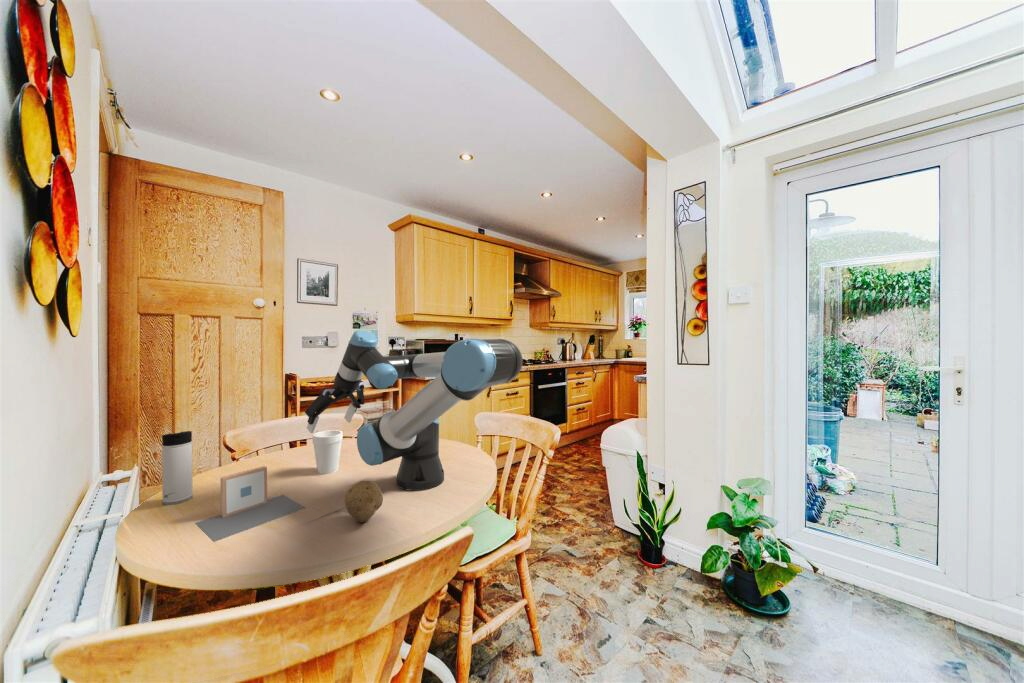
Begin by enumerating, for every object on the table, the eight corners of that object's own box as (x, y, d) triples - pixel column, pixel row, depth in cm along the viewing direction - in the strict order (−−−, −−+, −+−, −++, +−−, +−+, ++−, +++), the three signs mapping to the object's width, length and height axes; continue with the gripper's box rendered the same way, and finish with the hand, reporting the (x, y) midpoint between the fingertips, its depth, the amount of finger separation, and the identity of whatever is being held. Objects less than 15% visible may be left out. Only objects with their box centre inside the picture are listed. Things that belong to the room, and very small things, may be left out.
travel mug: (163, 509, 98) (162, 435, 98) (161, 501, 103) (160, 431, 102) (194, 501, 103) (193, 431, 102) (191, 494, 107) (190, 427, 107)
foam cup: (314, 468, 129) (313, 431, 128) (342, 464, 133) (342, 429, 132) (311, 477, 120) (311, 438, 120) (342, 473, 124) (342, 435, 124)
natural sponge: (365, 508, 99) (365, 472, 99) (390, 515, 95) (390, 477, 95) (337, 524, 91) (337, 484, 90) (363, 532, 87) (362, 491, 87)
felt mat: (306, 509, 98) (306, 507, 98) (213, 543, 82) (213, 541, 82) (283, 495, 106) (283, 494, 106) (195, 524, 90) (195, 522, 90)
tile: (267, 503, 101) (267, 467, 101) (223, 517, 93) (223, 478, 93) (264, 501, 102) (264, 466, 102) (220, 515, 94) (220, 477, 94)
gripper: (374, 363, 128) (355, 409, 135) (305, 373, 106) (285, 427, 113) (387, 376, 125) (366, 422, 132) (319, 388, 103) (298, 443, 110)
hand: (329, 424), depth 122 cm, fingers open, 13 cm apart
